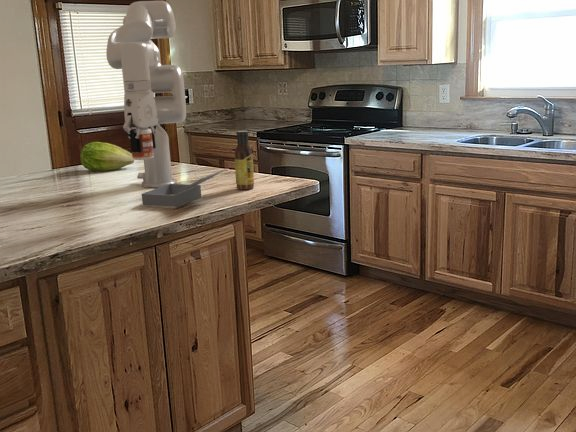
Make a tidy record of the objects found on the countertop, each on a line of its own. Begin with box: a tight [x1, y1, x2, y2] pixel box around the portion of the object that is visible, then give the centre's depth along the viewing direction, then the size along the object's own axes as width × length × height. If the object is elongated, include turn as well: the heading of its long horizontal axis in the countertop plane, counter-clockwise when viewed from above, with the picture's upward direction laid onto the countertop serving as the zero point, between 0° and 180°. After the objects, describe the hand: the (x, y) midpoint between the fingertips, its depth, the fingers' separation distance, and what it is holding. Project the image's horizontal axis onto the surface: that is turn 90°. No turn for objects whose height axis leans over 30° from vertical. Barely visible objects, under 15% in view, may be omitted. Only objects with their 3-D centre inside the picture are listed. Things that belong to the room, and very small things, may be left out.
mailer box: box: [141, 183, 202, 209], centre depth 199 cm, size 12×16×4 cm
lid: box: [175, 168, 229, 194], centre depth 193 cm, size 12×16×1 cm
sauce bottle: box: [234, 130, 255, 191], centre depth 212 cm, size 6×6×20 cm
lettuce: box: [80, 141, 135, 172], centre depth 261 cm, size 13×22×14 cm
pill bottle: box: [131, 126, 154, 161], centre depth 179 cm, size 6×6×11 cm
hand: (143, 149), depth 180 cm, fingers closed on pill bottle, 6 cm apart
